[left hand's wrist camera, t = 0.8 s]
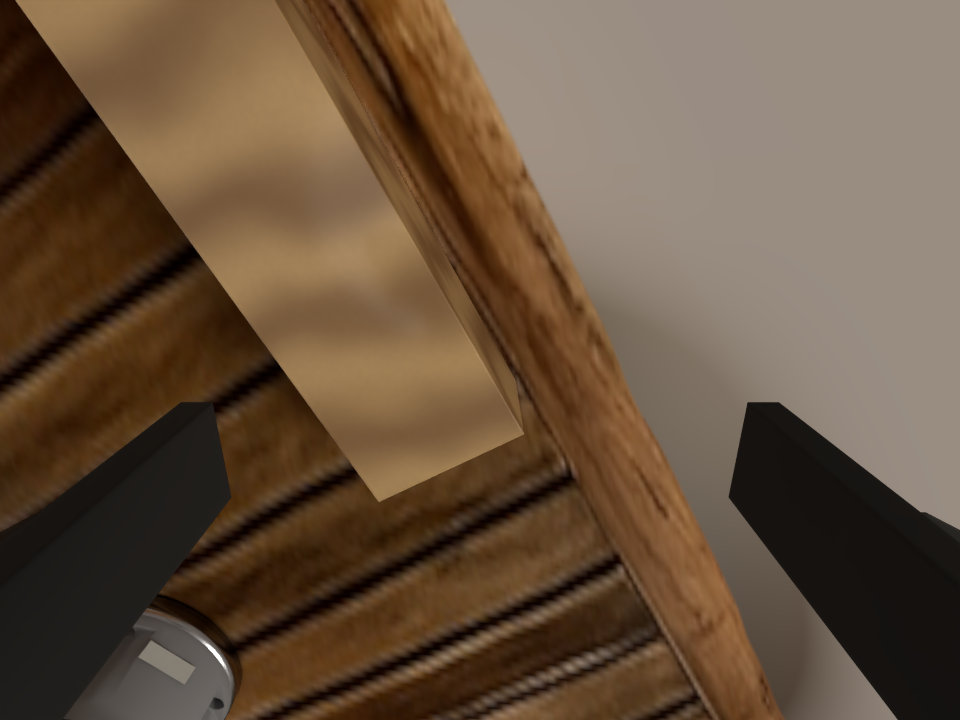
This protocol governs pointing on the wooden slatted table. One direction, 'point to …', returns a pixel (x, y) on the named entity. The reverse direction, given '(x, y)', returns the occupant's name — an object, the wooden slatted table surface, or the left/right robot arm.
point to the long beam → (297, 219)
